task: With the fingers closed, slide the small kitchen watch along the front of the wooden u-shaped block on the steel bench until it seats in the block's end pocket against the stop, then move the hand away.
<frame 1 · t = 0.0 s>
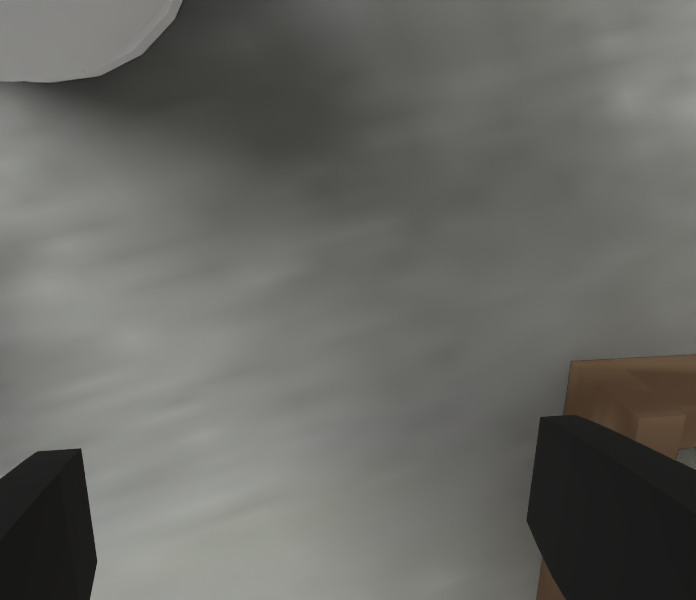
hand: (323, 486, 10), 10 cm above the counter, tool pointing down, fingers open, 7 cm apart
wooden u-shaped block: (561, 545, 24), on the counter
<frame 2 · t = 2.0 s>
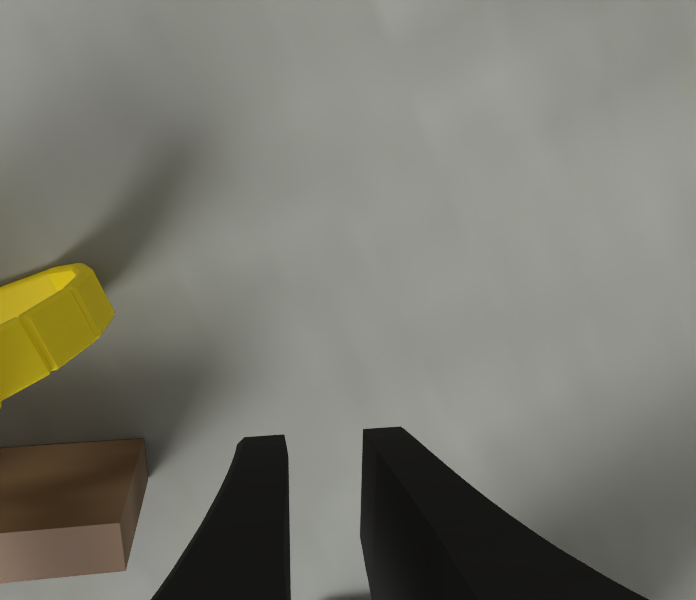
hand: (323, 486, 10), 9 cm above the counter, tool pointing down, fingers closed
watch: (21, 303, 18), on the counter
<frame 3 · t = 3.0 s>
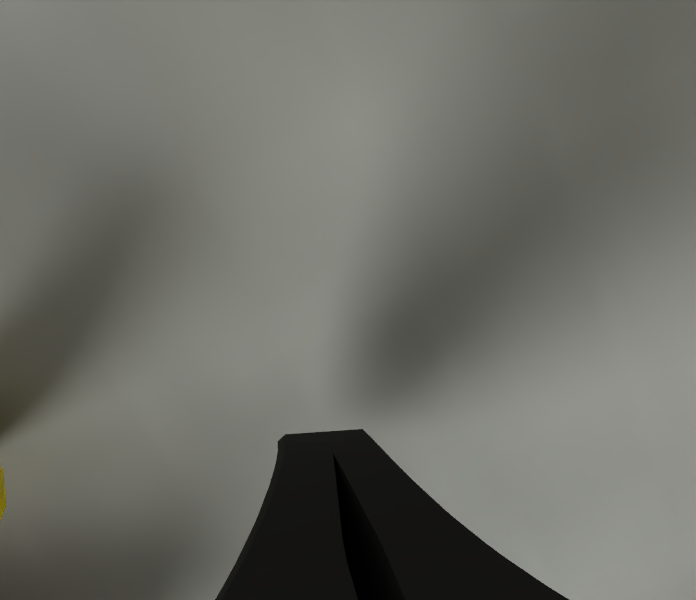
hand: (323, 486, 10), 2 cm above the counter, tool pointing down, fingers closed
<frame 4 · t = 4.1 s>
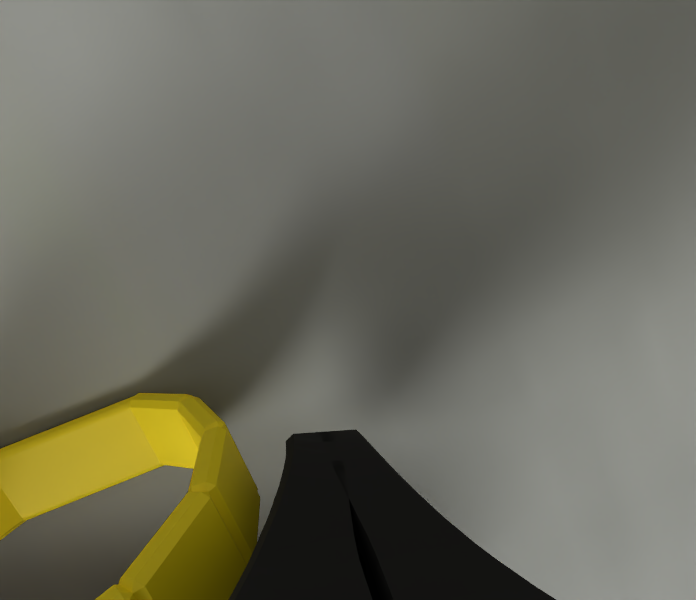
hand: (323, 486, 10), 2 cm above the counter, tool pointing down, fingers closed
watch: (84, 447, 11), on the counter, touching gripper
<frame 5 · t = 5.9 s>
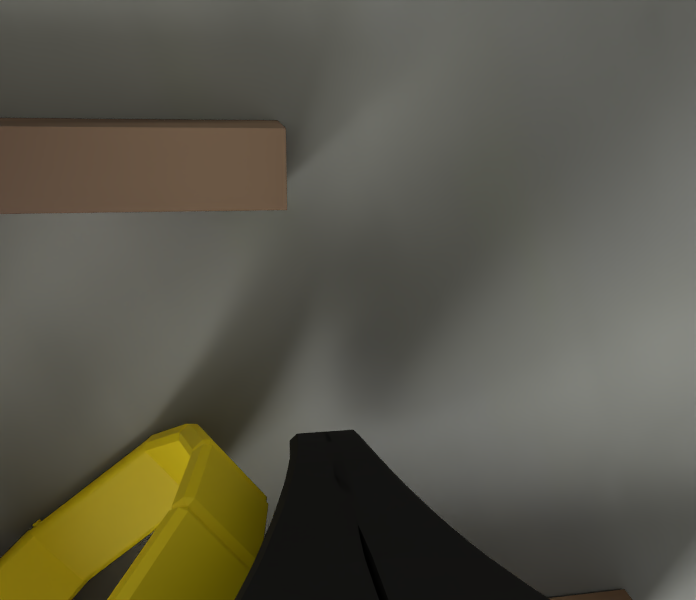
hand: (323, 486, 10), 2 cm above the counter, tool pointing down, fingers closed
watch: (121, 500, 11), on the counter, touching gripper
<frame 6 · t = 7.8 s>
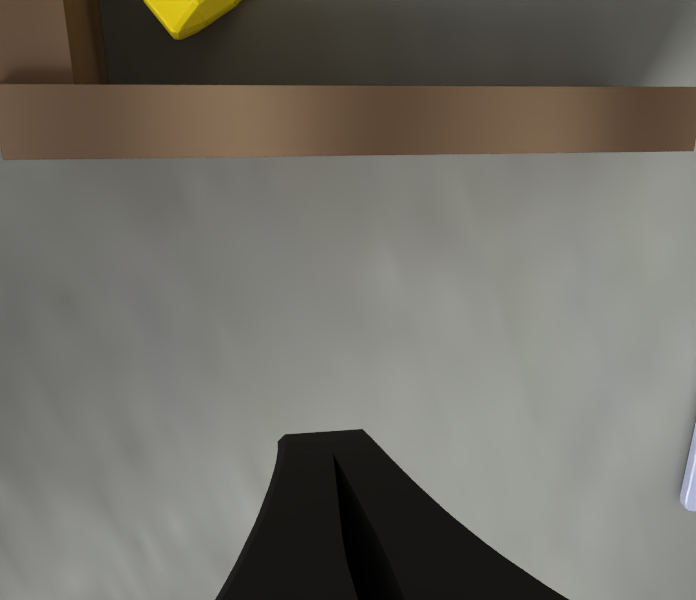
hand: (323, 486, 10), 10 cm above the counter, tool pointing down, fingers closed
wooden u-shaped block: (349, 114, 18), on the counter
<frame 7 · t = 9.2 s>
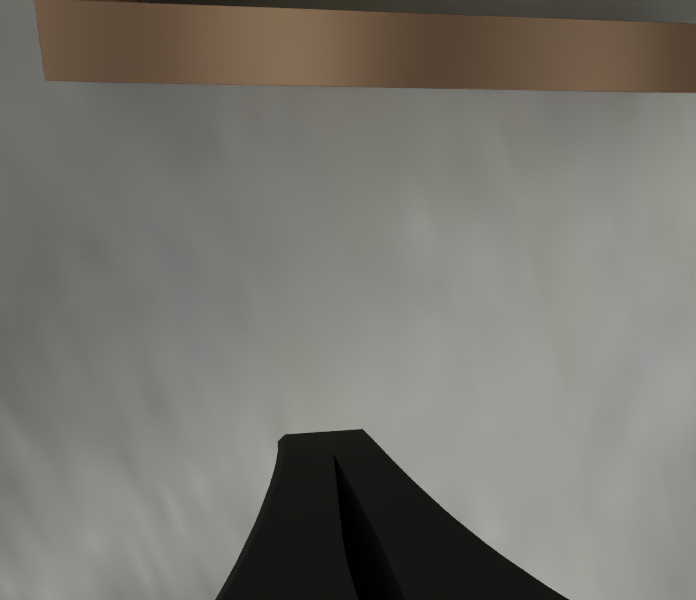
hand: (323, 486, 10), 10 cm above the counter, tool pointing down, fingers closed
wooden u-shaped block: (388, 59, 17), on the counter
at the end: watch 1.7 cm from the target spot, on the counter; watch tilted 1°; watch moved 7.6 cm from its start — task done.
